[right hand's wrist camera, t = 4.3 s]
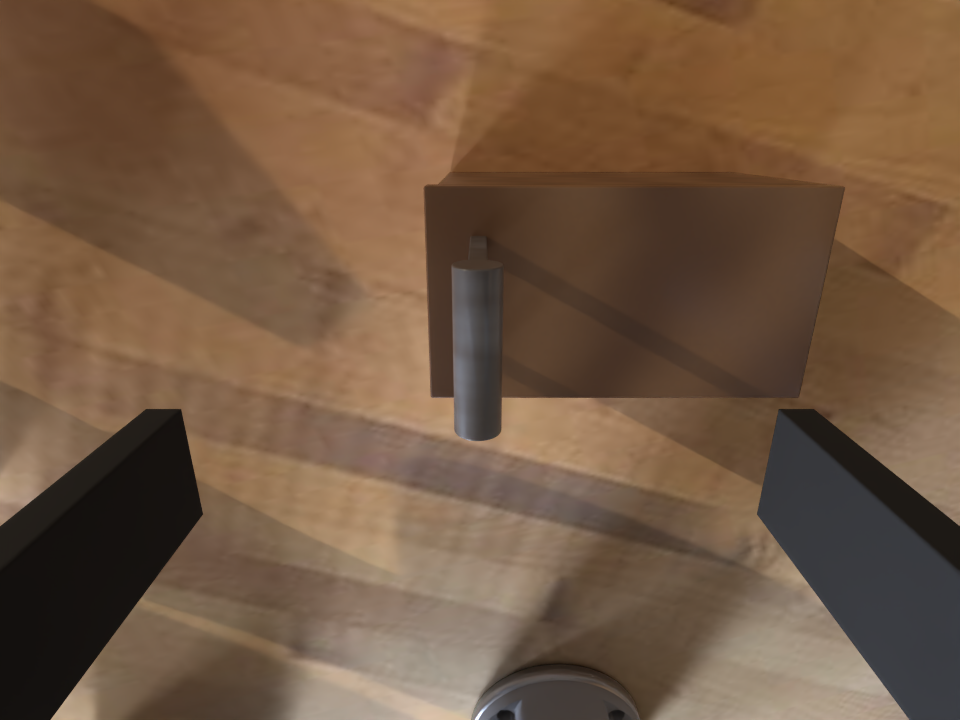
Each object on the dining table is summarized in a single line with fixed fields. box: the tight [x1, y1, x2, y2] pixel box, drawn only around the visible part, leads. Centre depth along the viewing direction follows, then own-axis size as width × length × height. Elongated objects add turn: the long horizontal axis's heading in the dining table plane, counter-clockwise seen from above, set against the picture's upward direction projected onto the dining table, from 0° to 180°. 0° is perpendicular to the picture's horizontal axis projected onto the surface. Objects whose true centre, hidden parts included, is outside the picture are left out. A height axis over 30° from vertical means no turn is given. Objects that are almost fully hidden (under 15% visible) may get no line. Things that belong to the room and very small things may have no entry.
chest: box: [438, 172, 827, 185], centre depth 32 cm, size 17×10×10 cm, turn 90°
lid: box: [424, 185, 845, 441], centre depth 23 cm, size 18×10×9 cm, turn 90°
